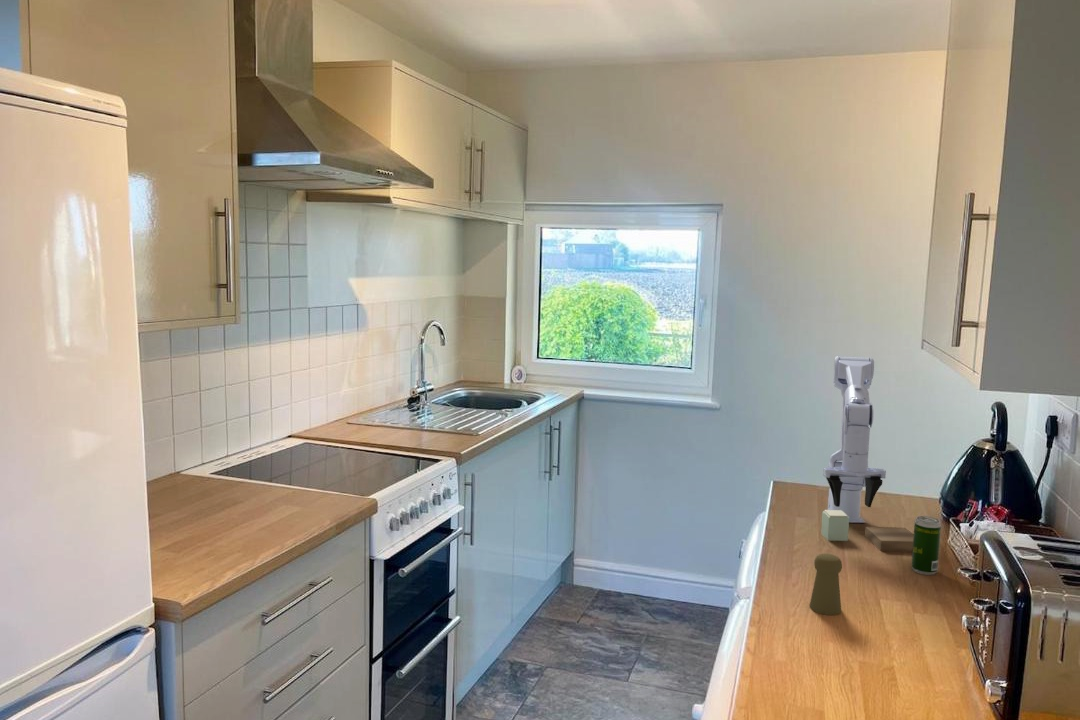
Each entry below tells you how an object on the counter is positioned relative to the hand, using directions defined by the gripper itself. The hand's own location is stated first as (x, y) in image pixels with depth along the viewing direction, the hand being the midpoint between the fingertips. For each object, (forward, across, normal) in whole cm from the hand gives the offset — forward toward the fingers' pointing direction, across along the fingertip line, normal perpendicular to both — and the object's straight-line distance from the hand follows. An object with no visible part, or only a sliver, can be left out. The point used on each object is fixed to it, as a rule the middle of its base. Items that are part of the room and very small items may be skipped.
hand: (852, 505), depth 193 cm
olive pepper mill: (+9, -19, -38) cm, 44 cm away
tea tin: (+10, -2, +4) cm, 11 cm away
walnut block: (+10, +10, 0) cm, 15 cm away
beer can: (+10, +10, -17) cm, 22 cm away
